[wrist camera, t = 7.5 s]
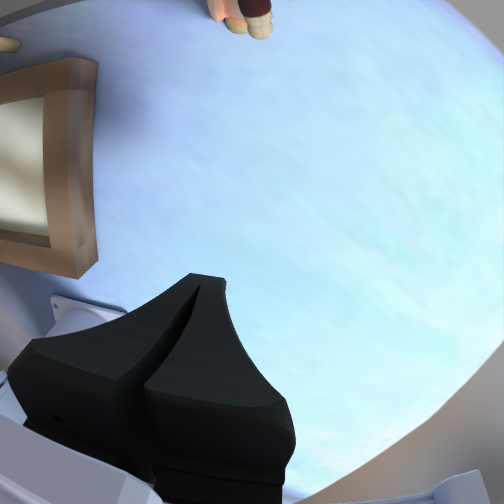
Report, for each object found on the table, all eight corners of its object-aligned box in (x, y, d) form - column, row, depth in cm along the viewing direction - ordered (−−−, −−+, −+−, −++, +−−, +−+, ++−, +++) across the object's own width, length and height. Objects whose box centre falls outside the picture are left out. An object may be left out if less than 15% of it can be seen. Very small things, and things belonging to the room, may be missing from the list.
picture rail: (173, 35, 15) (150, 18, 11) (-61, 84, 15) (-87, 89, 12) (192, -48, 12) (175, -75, 9) (-51, 29, 12) (-76, 29, 9)
